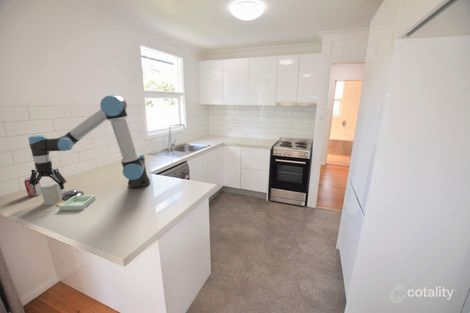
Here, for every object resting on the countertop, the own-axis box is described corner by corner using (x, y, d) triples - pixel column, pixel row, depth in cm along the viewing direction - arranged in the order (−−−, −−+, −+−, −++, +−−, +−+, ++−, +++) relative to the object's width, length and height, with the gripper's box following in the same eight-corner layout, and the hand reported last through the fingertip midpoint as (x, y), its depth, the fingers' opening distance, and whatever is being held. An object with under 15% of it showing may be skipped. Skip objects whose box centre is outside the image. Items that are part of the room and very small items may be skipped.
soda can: (44, 193, 145) (40, 177, 142) (31, 197, 139) (26, 180, 136) (39, 191, 148) (34, 175, 145) (26, 195, 142) (21, 179, 139)
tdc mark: (67, 202, 133) (67, 201, 133) (62, 205, 129) (62, 205, 129) (61, 202, 133) (61, 202, 133) (56, 205, 129) (56, 205, 129)
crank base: (87, 192, 146) (87, 190, 146) (76, 200, 136) (76, 198, 136) (71, 192, 146) (70, 191, 146) (59, 200, 135) (58, 198, 135)
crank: (79, 192, 143) (77, 183, 141) (74, 195, 138) (72, 186, 136) (58, 193, 143) (56, 184, 141) (52, 196, 138) (50, 187, 136)
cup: (52, 205, 129) (47, 187, 126) (41, 204, 131) (36, 186, 127) (65, 199, 137) (60, 182, 133) (54, 198, 138) (50, 181, 135)
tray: (95, 199, 136) (94, 195, 136) (82, 210, 124) (81, 205, 123) (75, 200, 136) (74, 195, 135) (59, 210, 123) (58, 205, 123)
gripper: (68, 159, 130) (75, 191, 136) (26, 159, 129) (35, 191, 135) (59, 163, 123) (67, 196, 129) (14, 163, 122) (24, 197, 128)
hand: (50, 194), depth 132 cm, fingers open, 13 cm apart
